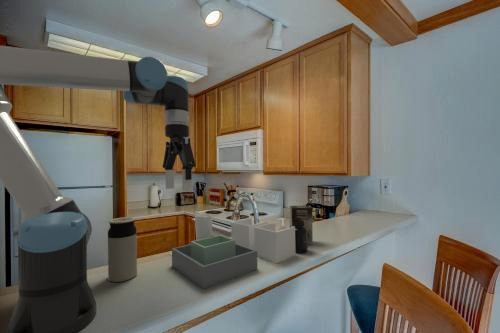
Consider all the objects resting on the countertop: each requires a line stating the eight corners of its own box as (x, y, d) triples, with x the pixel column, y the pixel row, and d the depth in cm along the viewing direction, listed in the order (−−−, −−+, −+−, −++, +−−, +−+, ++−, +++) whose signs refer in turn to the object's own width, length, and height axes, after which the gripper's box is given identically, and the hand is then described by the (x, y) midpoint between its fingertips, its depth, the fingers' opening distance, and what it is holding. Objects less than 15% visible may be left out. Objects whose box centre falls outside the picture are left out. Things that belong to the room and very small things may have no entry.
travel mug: (141, 276, 77) (140, 219, 77) (113, 285, 71) (112, 223, 71) (131, 269, 82) (130, 215, 83) (105, 277, 77) (104, 219, 77)
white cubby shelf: (231, 248, 104) (231, 222, 104) (250, 242, 111) (249, 218, 111) (276, 263, 86) (276, 232, 86) (295, 255, 93) (294, 226, 93)
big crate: (203, 288, 68) (203, 267, 68) (172, 265, 85) (171, 248, 85) (257, 269, 81) (257, 250, 81) (220, 252, 98) (220, 237, 98)
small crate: (204, 273, 76) (204, 247, 76) (191, 265, 82) (190, 241, 82) (235, 263, 83) (235, 240, 83) (221, 256, 90) (220, 234, 90)
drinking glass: (209, 256, 94) (208, 216, 94) (192, 255, 95) (192, 216, 95) (215, 250, 100) (214, 213, 101) (199, 249, 102) (199, 213, 102)
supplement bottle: (303, 247, 102) (303, 218, 102) (310, 253, 95) (309, 222, 95) (287, 248, 101) (287, 219, 101) (293, 254, 94) (293, 223, 94)
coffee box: (291, 245, 105) (290, 207, 105) (289, 240, 111) (289, 205, 112) (313, 245, 105) (312, 207, 105) (310, 240, 111) (309, 205, 111)
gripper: (206, 120, 74) (207, 190, 73) (172, 131, 93) (173, 187, 92) (182, 117, 69) (183, 192, 69) (152, 129, 88) (153, 188, 88)
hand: (178, 189), depth 81 cm, fingers open, 13 cm apart
